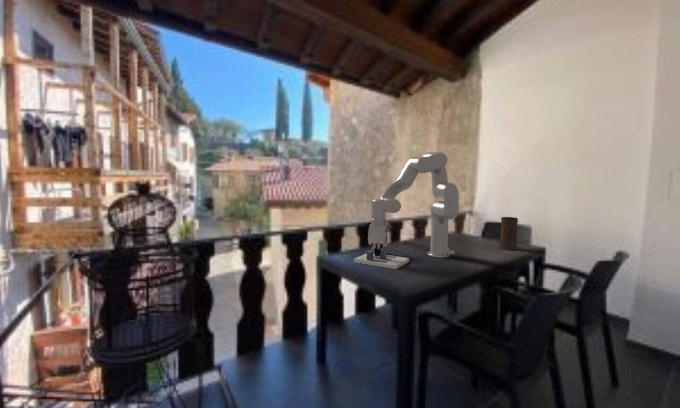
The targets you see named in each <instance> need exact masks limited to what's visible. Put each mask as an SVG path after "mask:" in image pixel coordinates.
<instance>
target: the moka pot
mask: <svg viewBox="0 0 680 408" xmlns="http://www.w3.org/2000/svg"><path fill="white" fill-rule="evenodd" d="M370 224H371V221H369V222H368V223H366V225H365V230H366V233H367V234H368V232H369V226H370ZM385 225H387V230H388V233H389V232H390V230H391V229H392V228H393V226H392V225H390V224H388V223H386V224H385ZM377 246H378V244H377ZM383 250H386V251H387V246H384V247H383ZM370 251H373V253H374V248H373V246H372V245H371V250H370Z"/></svg>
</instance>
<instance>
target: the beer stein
mask: <svg viewBox="0 0 680 408" xmlns="http://www.w3.org/2000/svg"><path fill="white" fill-rule="evenodd" d="M500 221H501V230H500V238H499V242H498V243H499V245H498V248H499V247H500V248H503V249H502V250H504V249H516V248H517V249H518V247H517V245H518V243H517V240H518V237H517V235H518V232H517V231H518V223H519V219H518V217H512V216H502V217H501V218H500ZM500 248H499V249H500ZM517 249H516V250H517Z"/></svg>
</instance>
